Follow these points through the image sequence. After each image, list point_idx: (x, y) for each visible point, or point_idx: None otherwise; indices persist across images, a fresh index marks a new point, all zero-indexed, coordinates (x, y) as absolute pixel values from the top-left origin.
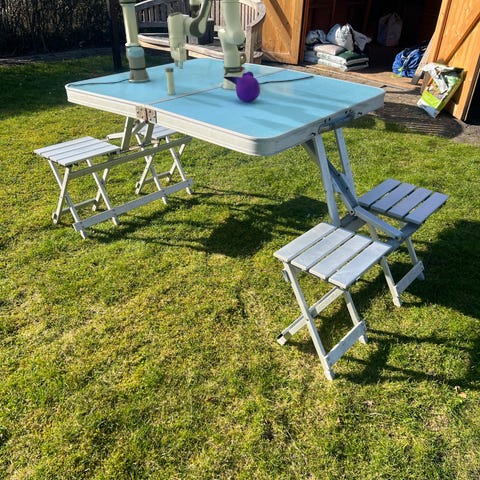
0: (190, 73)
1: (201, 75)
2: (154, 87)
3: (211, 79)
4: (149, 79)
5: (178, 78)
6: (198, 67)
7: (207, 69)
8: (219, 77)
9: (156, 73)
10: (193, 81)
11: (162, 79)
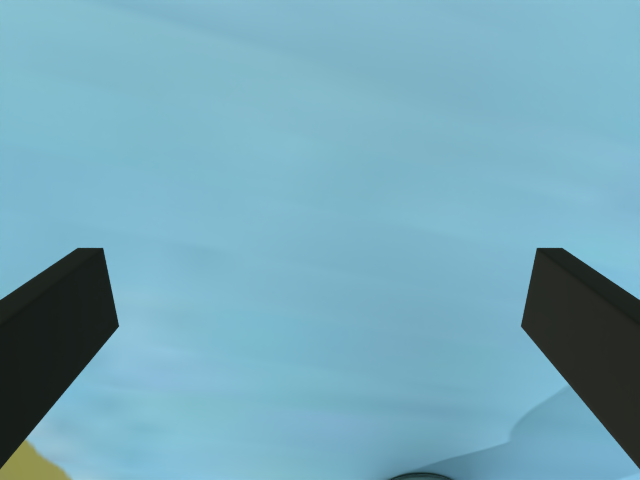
0: (297, 215)
1: (421, 151)
2: (631, 472)
3: (629, 114)
4: (430, 477)
5: (451, 326)
6: (16, 85)
7: (149, 24)
8: (592, 20)
9: (210, 417)
10: (612, 258)
11: (432, 412)
